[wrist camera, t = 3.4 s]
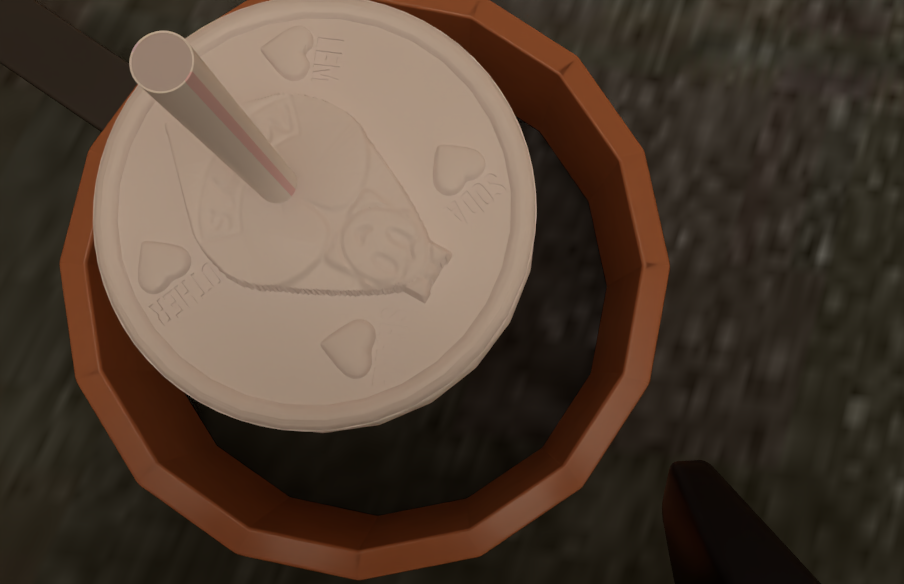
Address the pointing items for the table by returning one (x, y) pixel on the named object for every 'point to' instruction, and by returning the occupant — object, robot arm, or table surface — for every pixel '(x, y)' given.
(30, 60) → the copper pot
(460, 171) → the smoothie
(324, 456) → the table surface
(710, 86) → the table surface
